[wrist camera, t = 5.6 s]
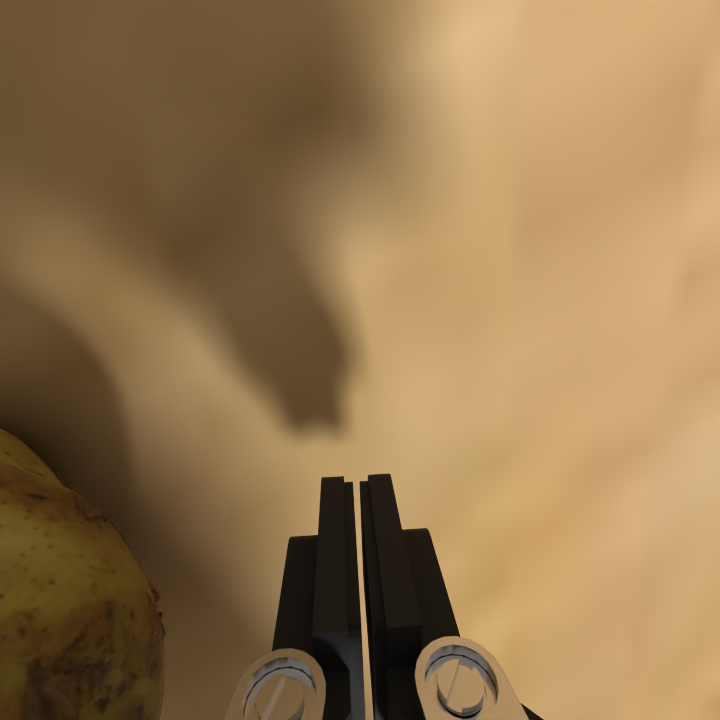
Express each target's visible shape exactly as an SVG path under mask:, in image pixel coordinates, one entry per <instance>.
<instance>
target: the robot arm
mask: <svg viewBox="0 0 720 720" xmlns="http://www.w3.org/2000/svg"><path fill="white" fill-rule="evenodd" d="M360 503H361V529H362V556H363V578H364V592H365V606H366V619H367V633H368V647H369V660H370V674H371V688H372V701H373V715H374V720H543V719H542V718H540V717H539V716H538V715H536V714H535V713H534V712H532V711H531V710H529V709H528V708H527V707H525V706H524V705H523V704H521V703H520V701H519V700H518V698H517V696H516V694H515V692H514V690H513V688H512V686H511V684H510V682H509V680H508V678H507V676H506V674H505V673H504V671H503V669H502V667H501V666H500V664H499V663H498V662H497V660H496V659H495V657H494V656H493V655H492V654H491V653H490V652H489V651H487V650H486V649H485V648H484V647H483V646H482V645H480V644H478V643H476V642H474V641H472V640H470V639H467V638H462V637H460V634H459V631H458V627H457V624H456V621H455V617H454V614H453V610H452V607H451V604H450V600H449V597H448V594H447V590H446V587H445V583H444V580H443V577H442V573H441V570H440V567H439V563H438V560H437V556H436V553H435V550H434V546H433V543H432V539H431V536H430V533H429V531H428V529H427V528H422V529H406V530H402V527H401V523H400V518H399V513H398V508H397V504H396V499H395V494H394V489H393V484H392V480H391V475H390V474H375V475H368V481H360ZM224 720H365V703H364V679H363V656H362V633H361V614H360V597H359V580H358V563H357V546H356V529H355V512H354V495H353V482H344V476H341V477H324V478H322V480H321V495H320V512H319V528H318V535H312V536H297V537H290V539H289V543H288V549H287V555H286V562H285V568H284V575H283V582H282V588H281V595H280V601H279V608H278V615H277V621H276V628H275V634H274V641H273V647H272V652H270V653H267V654H265V655H263V656H262V657H261V658H259V659H258V660H256V661H255V662H254V663H252V664H251V666H250V667H249V668H248V669H247V670H246V671H245V673H244V674H243V675H242V677H241V679H240V681H239V683H238V685H237V687H236V689H235V691H234V694H233V696H232V699H231V702H230V705H229V708H228V710H227V713H226V716H225V719H224Z"/></svg>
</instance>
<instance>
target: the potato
mask: <svg viewBox="0 0 720 720" xmlns="http://www.w3.org/2000/svg"><path fill="white" fill-rule="evenodd" d="M141 569H142V568H141V567H140V566H139V565H138V563H137V562H136V560H135V559H134V557H133V556H132V554H131V551H130V546H129V544H128V542H127V541H126V539H125V537H124V536H123V535H122V534H121V533H120V532H119V531H118V530H117V528H116V527H115V526H114V524H113V523H112V522H111V521H110V520H109V519H108V517H107V516H106V515H104V514H103V513H102V512H101V511H99V510H98V509H97V508H96V507H95V506H94V505H93V504H91V503H90V502H89V501H87V500H86V499H85V498H84V497H83V496H82V495H81V494H79V493H78V492H76V491H74V490H70V489H68V488H66V487H64V486H63V485H62V484H61V483H60V482H59V480H58V479H57V477H56V476H55V475H54V473H53V472H52V471H51V470H50V469H49V468H48V466H47V465H46V464H45V463H44V462H43V461H42V460H41V459H40V458H39V457H38V456H37V455H36V454H35V453H34V452H33V451H32V449H30V448H29V447H28V446H27V445H26V444H24V443H23V442H22V441H21V440H20V439H18V438H17V437H16V436H14V435H12V434H10V433H8V432H6V431H5V430H3V429H1V428H0V720H160V713H161V706H162V700H163V687H164V649H163V643H164V637H165V634H166V632H165V630H164V627H163V624H162V622H161V617H162V613H163V612H158V610H157V605H156V602H157V601H158V599H159V598H160V596H159V594H158V592H157V591H156V589H155V588H154V587H153V585H152V584H151V583H150V582H149V581H148V580H147V579H146V578H145V576H144V574H143V572H142V570H141Z"/></svg>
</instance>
